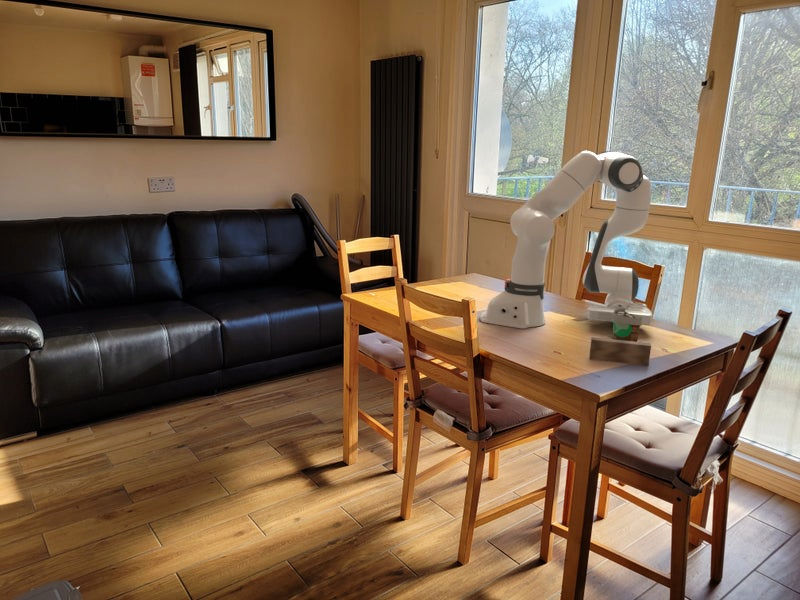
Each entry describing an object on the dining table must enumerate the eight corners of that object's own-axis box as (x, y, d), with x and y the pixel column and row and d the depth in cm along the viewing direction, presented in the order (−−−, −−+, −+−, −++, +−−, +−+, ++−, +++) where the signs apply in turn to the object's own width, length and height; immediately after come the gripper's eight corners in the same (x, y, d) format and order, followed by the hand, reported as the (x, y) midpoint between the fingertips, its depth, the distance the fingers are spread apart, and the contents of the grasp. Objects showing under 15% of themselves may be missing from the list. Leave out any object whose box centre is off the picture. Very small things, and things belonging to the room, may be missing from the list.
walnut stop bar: (589, 359, 174) (591, 339, 173) (589, 356, 177) (591, 337, 175) (648, 366, 170) (651, 345, 168) (647, 363, 172) (650, 343, 171)
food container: (602, 337, 194) (605, 307, 192) (621, 337, 195) (624, 307, 192) (618, 350, 182) (622, 318, 180) (638, 350, 183) (642, 318, 180)
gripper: (588, 299, 209) (587, 309, 196) (651, 304, 203) (655, 315, 191) (586, 316, 211) (585, 327, 198) (648, 322, 205) (652, 334, 192)
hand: (620, 321), depth 194 cm, fingers closed
